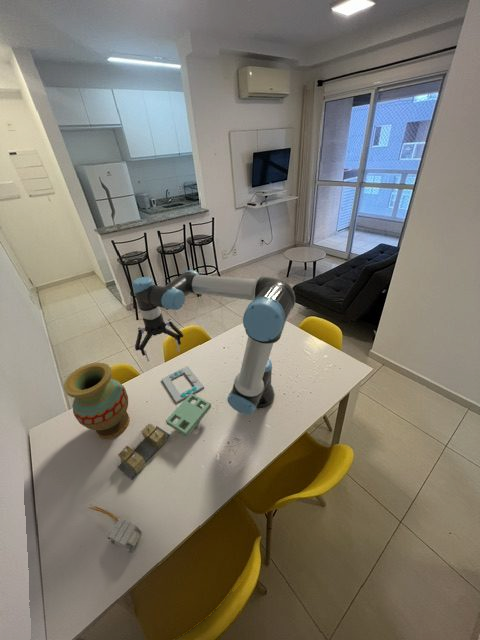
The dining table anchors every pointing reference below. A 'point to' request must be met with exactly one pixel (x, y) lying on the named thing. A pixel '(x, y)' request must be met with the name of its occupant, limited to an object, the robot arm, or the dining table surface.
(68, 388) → the vase
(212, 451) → the dining table surface
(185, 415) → the board
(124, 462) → the chassis
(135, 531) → the electrical component
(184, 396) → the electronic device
